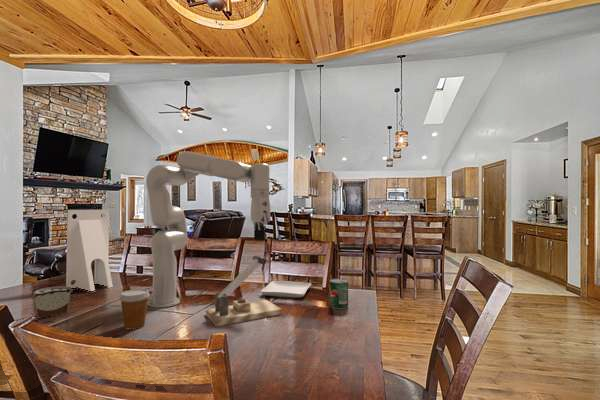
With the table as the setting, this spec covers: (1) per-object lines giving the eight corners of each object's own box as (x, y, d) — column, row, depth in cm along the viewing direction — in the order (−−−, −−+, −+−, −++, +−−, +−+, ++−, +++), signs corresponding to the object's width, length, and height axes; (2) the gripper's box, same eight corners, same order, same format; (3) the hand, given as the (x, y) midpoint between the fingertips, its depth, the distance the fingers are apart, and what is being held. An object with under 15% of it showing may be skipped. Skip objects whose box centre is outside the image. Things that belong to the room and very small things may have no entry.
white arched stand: (80, 294, 154) (81, 210, 155) (65, 290, 162) (67, 209, 162) (121, 285, 171) (123, 209, 172) (107, 282, 179) (108, 209, 179)
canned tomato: (325, 306, 138) (326, 280, 139) (336, 302, 144) (337, 277, 144) (341, 310, 133) (341, 283, 133) (351, 306, 139) (352, 280, 139)
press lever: (224, 304, 119) (220, 299, 119) (218, 298, 126) (214, 294, 126) (268, 260, 129) (265, 255, 128) (260, 257, 136) (257, 253, 135)
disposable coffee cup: (128, 321, 119) (129, 288, 119) (154, 321, 119) (154, 288, 119) (113, 331, 110) (113, 295, 110) (140, 332, 109) (141, 296, 109)
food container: (69, 308, 133) (69, 284, 133) (72, 312, 128) (72, 287, 129) (30, 315, 124) (30, 289, 124) (32, 320, 120) (32, 292, 120)
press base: (216, 326, 115) (216, 300, 115) (206, 314, 127) (206, 291, 127) (281, 314, 128) (281, 291, 128) (266, 304, 140) (266, 283, 140)
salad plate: (304, 300, 147) (304, 293, 147) (259, 297, 152) (259, 290, 152) (311, 289, 168) (312, 282, 168) (272, 286, 172) (272, 280, 172)
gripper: (277, 193, 126) (276, 241, 126) (260, 194, 140) (260, 237, 140) (259, 193, 123) (258, 242, 122) (244, 194, 136) (243, 238, 136)
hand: (259, 239), depth 131 cm, fingers closed
